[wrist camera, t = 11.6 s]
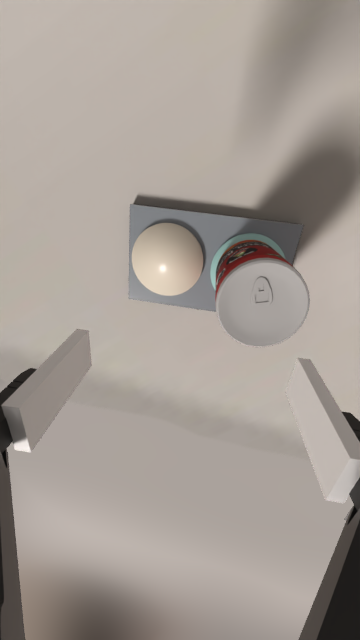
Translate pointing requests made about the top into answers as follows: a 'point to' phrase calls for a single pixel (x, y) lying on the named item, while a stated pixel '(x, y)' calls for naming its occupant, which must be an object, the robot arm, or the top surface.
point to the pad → (233, 241)
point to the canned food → (259, 295)
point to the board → (189, 252)
